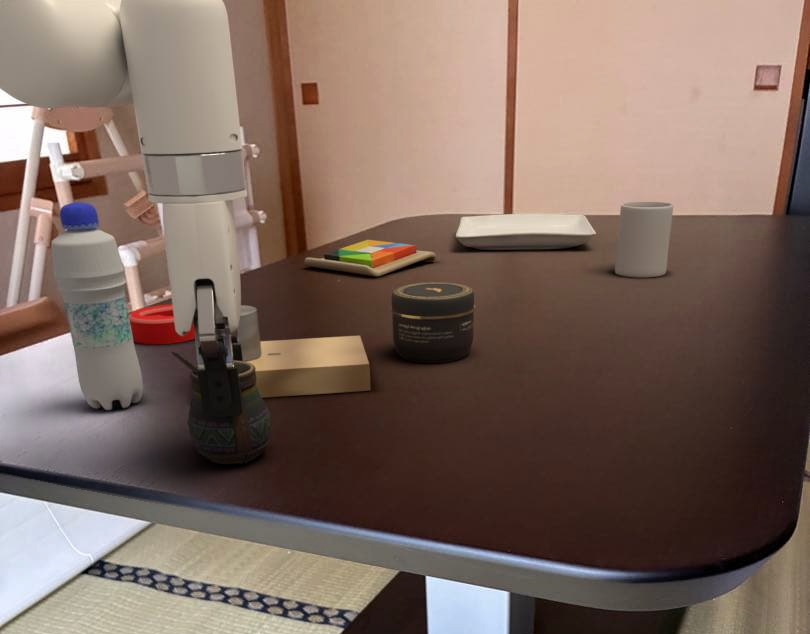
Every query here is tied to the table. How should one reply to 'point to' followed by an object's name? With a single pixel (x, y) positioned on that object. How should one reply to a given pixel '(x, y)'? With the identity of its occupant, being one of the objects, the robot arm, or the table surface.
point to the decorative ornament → (156, 326)
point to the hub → (249, 333)
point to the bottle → (96, 308)
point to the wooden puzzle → (371, 258)
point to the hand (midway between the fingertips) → (225, 400)
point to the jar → (433, 321)
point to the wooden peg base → (312, 366)
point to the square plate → (524, 231)
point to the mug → (643, 239)
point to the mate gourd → (230, 421)
